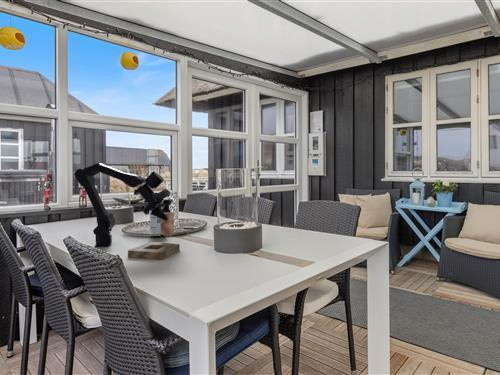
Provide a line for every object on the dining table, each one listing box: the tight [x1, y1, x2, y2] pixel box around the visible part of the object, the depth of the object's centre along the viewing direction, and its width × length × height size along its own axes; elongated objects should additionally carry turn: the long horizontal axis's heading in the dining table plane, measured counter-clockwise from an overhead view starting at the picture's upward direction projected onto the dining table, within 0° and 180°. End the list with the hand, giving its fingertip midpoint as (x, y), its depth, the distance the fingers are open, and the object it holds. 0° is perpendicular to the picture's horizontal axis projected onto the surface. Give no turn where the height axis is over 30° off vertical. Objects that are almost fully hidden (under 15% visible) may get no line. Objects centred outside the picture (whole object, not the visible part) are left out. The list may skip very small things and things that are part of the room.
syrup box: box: [149, 210, 161, 234], centre depth 189 cm, size 6×6×14 cm
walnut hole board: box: [127, 241, 181, 261], centre depth 151 cm, size 16×16×3 cm
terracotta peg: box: [160, 211, 175, 236], centre depth 163 cm, size 5×5×10 cm
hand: (169, 219), depth 163 cm, fingers closed on terracotta peg, 5 cm apart
